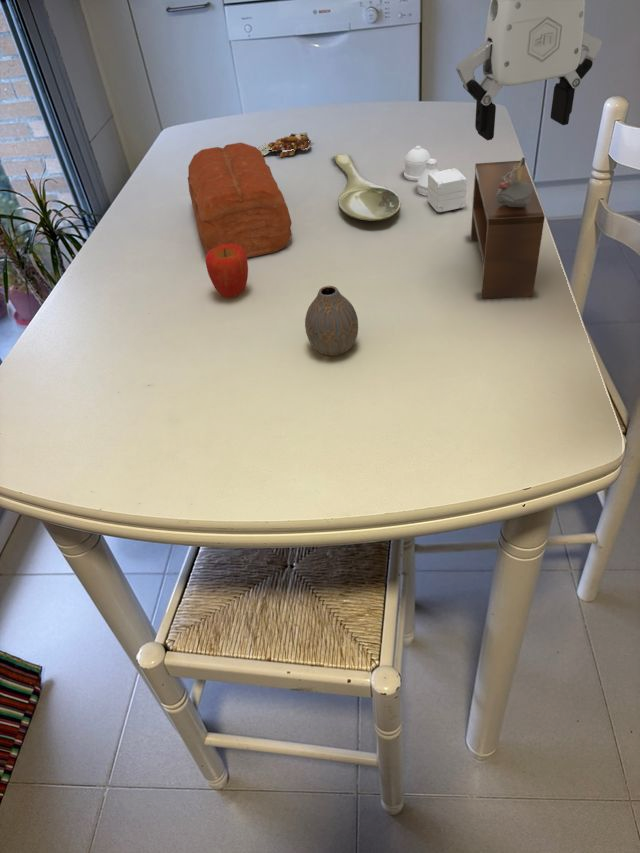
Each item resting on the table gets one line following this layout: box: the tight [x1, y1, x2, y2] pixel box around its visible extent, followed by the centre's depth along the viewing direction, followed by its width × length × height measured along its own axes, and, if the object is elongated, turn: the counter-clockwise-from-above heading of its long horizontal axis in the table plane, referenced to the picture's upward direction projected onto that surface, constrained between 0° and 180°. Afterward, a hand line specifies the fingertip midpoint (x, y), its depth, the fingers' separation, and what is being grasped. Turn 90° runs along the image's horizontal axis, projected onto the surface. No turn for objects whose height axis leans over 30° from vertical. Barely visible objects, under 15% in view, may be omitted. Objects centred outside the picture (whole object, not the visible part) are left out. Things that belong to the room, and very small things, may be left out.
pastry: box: [257, 131, 313, 159], centre depth 138 cm, size 7×12×4 cm, turn 96°
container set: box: [403, 145, 468, 213], centre depth 117 cm, size 20×5×6 cm, turn 13°
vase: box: [304, 285, 359, 357], centre depth 84 cm, size 7×7×9 cm
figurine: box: [497, 157, 533, 207], centre depth 84 cm, size 5×4×6 cm
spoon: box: [333, 153, 402, 222], centre depth 121 cm, size 35×11×2 cm, turn 10°
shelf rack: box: [470, 160, 546, 299], centre depth 94 cm, size 7×18×12 cm, turn 176°
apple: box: [205, 244, 249, 299], centre depth 97 cm, size 6×6×8 cm
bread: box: [187, 142, 293, 259], centre depth 113 cm, size 16×27×11 cm, turn 14°
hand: (522, 129), depth 79 cm, fingers open, 9 cm apart
